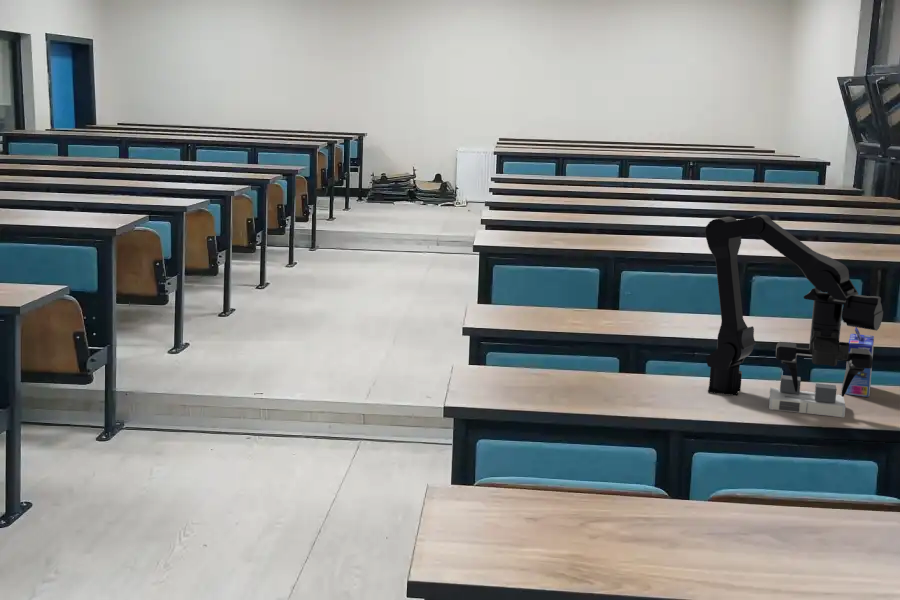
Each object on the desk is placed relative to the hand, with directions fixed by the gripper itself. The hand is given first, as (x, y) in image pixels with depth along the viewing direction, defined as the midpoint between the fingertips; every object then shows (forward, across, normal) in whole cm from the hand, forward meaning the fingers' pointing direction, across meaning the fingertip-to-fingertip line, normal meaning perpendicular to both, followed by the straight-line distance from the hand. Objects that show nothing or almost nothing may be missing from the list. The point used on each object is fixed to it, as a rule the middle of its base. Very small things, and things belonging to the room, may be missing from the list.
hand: (819, 393), depth 202 cm
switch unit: (+4, -2, +2) cm, 5 cm away
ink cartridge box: (+4, +9, +20) cm, 22 cm away
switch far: (+1, -6, +4) cm, 7 cm away
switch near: (+1, +1, 0) cm, 2 cm away
